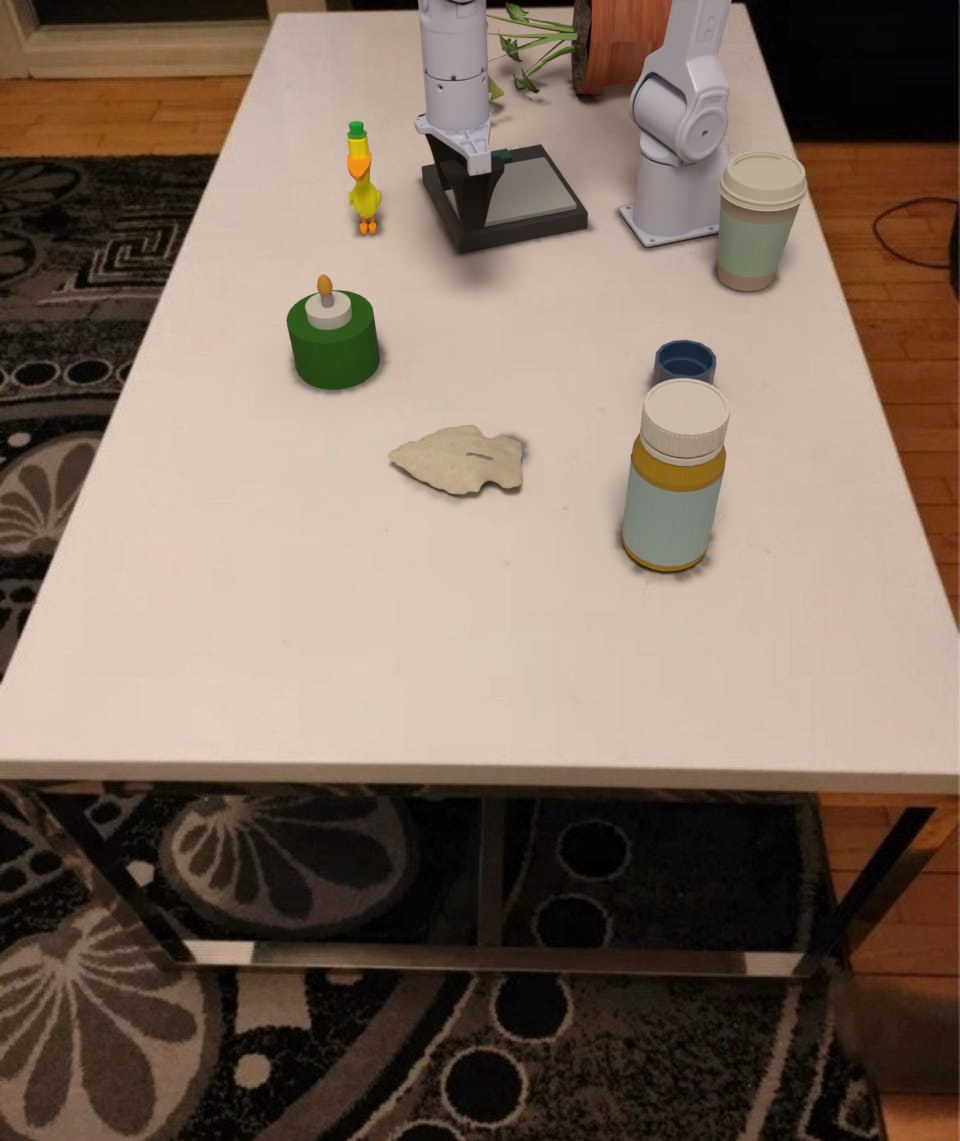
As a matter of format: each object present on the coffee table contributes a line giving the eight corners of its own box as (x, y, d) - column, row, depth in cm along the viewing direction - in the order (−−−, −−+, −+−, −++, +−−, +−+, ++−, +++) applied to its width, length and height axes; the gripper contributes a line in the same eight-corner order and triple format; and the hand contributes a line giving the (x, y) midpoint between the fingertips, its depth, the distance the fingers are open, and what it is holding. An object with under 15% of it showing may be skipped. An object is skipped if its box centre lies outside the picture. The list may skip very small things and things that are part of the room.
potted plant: (659, 70, 141) (408, 64, 138) (682, -49, 129) (408, -57, 126) (680, 131, 132) (411, 127, 129) (707, 9, 120) (411, 2, 117)
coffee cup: (791, 259, 109) (816, 153, 99) (779, 306, 104) (804, 198, 94) (712, 247, 111) (729, 141, 101) (696, 291, 106) (713, 185, 96)
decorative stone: (520, 509, 88) (524, 484, 86) (383, 497, 87) (384, 471, 85) (519, 446, 93) (523, 420, 91) (390, 434, 93) (391, 408, 90)
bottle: (615, 516, 86) (629, 378, 74) (696, 509, 86) (723, 370, 74) (629, 579, 81) (647, 443, 70) (715, 572, 82) (747, 435, 70)
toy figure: (382, 246, 113) (369, 142, 103) (350, 247, 113) (335, 144, 103) (385, 213, 117) (373, 111, 108) (354, 214, 117) (340, 112, 108)
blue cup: (694, 368, 98) (700, 334, 95) (720, 404, 94) (726, 371, 91) (641, 380, 97) (645, 346, 94) (665, 417, 93) (670, 384, 90)
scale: (541, 159, 124) (541, 139, 122) (587, 228, 114) (588, 207, 112) (422, 181, 121) (421, 161, 119) (459, 253, 111) (458, 232, 109)
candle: (314, 399, 97) (296, 312, 89) (284, 352, 101) (264, 265, 94) (393, 372, 99) (382, 284, 91) (360, 326, 104) (347, 240, 96)
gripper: (392, 39, 93) (405, 177, 103) (432, 111, 84) (442, 255, 94) (466, 27, 94) (472, 165, 104) (513, 97, 85) (514, 240, 95)
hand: (462, 207), depth 99 cm, fingers open, 7 cm apart
